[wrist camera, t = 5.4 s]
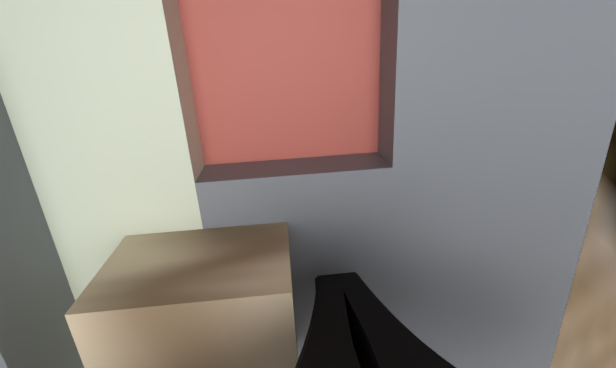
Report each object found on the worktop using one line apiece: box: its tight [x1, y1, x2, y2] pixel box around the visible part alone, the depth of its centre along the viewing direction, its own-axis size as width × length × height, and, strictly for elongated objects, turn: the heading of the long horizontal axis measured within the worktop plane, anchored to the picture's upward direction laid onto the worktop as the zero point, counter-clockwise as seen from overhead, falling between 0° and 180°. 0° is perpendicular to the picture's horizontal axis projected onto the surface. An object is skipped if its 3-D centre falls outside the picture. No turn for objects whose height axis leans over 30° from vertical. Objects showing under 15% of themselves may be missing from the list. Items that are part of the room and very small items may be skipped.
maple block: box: [64, 222, 298, 368], centre depth 11 cm, size 5×5×4 cm
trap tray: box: [0, 0, 616, 368], centre depth 12 cm, size 18×22×5 cm
